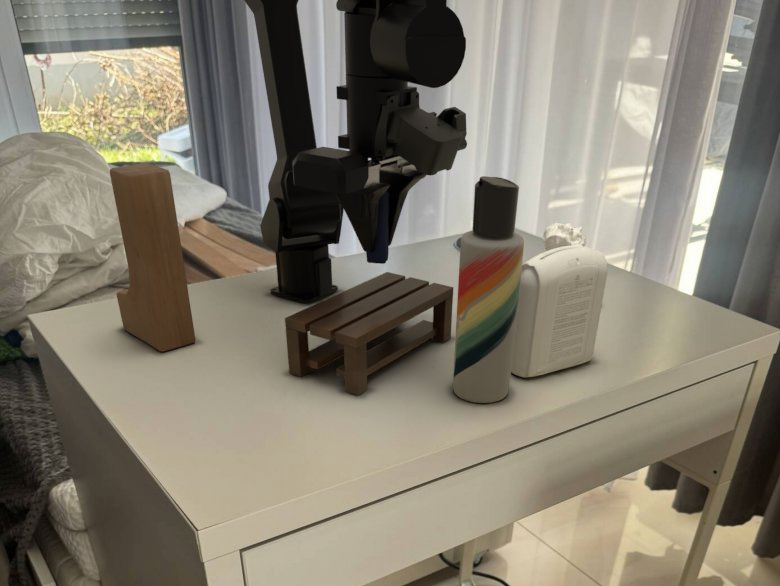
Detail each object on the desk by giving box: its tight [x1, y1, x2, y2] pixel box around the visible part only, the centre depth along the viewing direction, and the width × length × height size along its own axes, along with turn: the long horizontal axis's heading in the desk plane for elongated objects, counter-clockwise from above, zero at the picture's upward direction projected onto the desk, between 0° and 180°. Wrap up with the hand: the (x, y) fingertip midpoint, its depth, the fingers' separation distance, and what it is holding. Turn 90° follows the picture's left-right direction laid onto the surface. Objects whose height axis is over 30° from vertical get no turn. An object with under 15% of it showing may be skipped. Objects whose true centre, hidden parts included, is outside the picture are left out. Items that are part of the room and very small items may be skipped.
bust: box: [542, 221, 587, 252], centre depth 94 cm, size 12×8×11 cm
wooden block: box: [109, 162, 197, 353], centre depth 83 cm, size 9×4×18 cm, turn 43°
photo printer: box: [511, 245, 609, 378], centre depth 80 cm, size 10×4×12 cm, turn 123°
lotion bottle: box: [452, 175, 525, 404], centre depth 72 cm, size 6×6×20 cm
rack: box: [284, 271, 454, 396], centre depth 83 cm, size 9×18×6 cm, turn 146°
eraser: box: [365, 190, 390, 265], centre depth 79 cm, size 2×2×7 cm
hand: (377, 248), depth 80 cm, fingers closed on eraser, 2 cm apart
